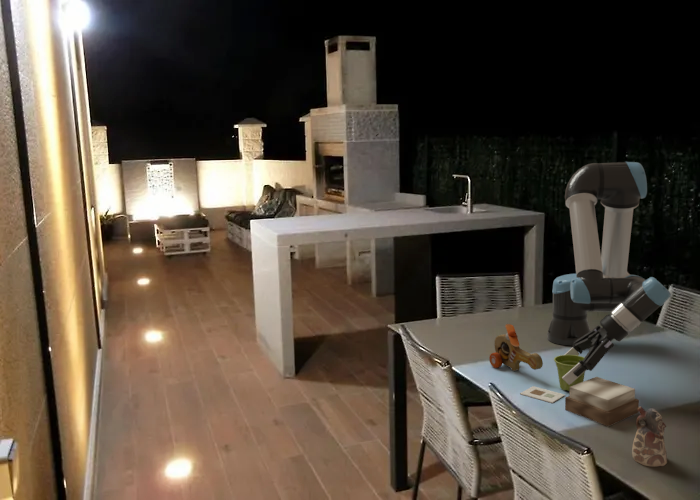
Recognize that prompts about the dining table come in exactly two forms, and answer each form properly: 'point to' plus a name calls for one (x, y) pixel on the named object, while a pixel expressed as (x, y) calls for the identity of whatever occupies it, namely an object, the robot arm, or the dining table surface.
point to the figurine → (649, 439)
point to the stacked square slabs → (602, 401)
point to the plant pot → (567, 369)
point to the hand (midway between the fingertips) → (562, 373)
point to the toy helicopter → (512, 352)
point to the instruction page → (542, 394)
